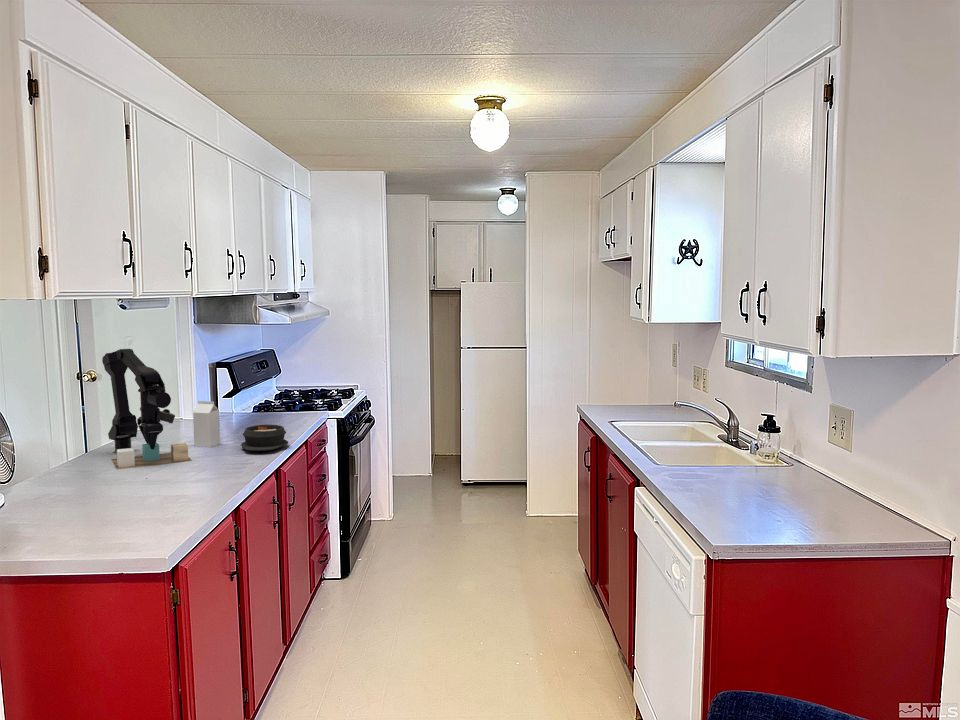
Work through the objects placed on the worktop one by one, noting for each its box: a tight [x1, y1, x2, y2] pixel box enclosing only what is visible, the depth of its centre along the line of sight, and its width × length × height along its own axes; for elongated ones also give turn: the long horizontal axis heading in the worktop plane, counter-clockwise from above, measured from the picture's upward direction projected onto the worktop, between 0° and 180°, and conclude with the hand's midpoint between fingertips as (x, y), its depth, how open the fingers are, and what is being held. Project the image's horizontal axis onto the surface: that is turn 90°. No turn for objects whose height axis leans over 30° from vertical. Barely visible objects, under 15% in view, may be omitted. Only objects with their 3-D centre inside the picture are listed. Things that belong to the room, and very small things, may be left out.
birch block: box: [170, 442, 189, 461], centre depth 264 cm, size 5×5×6 cm
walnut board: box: [110, 452, 193, 470], centre depth 263 cm, size 18×25×1 cm
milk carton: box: [192, 400, 221, 448], centre depth 288 cm, size 7×7×19 cm
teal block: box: [141, 442, 160, 461], centre depth 264 cm, size 5×5×6 cm
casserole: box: [240, 424, 289, 452], centre depth 290 cm, size 25×19×8 cm
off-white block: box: [116, 447, 135, 468], centre depth 255 cm, size 5×5×6 cm
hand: (150, 446), depth 264 cm, fingers open, 9 cm apart
